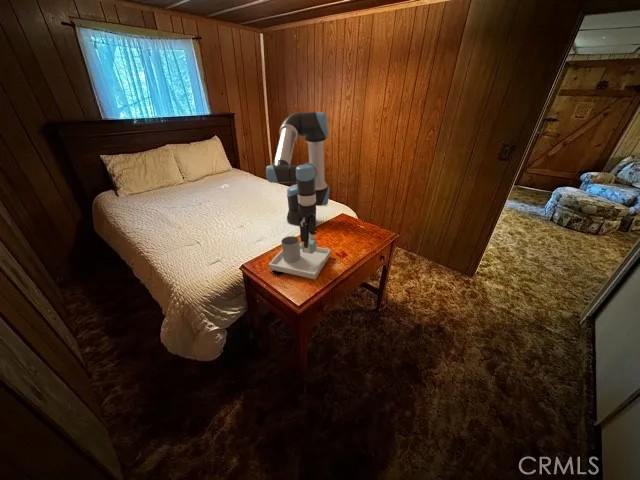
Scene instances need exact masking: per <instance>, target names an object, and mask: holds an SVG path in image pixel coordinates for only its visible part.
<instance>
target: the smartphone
mask: <svg viewBox="0 0 640 480" xmlns="http://www.w3.org/2000/svg"><path fill="white" fill-rule="evenodd" d="M272 272H273V273H274V274H275V276H276V275H277V277H281V276H282V275H283V274H285V272H280V271H276V270H273V271H272ZM273 273H272V274H273ZM274 274H273V275H274Z"/></svg>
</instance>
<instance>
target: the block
mask: <svg viewBox="0 0 640 480" xmlns="http://www.w3.org/2000/svg"><path fill="white" fill-rule="evenodd" d="M309 241H310V254H313V253H314V251H315V250H316V249H317V247H318V246H317V239H316V238H315V239H311V238H309ZM301 244H302V249H303V252H304V242H301Z"/></svg>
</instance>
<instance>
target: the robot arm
mask: <svg viewBox="0 0 640 480" xmlns="http://www.w3.org/2000/svg"><path fill="white" fill-rule="evenodd" d="M328 122H329V121H328V117H327V114H326V113H325V112H323V111H306V112H305V111H304V112H301V111H299V112H294V113H292V114H290V115H289V116H288V117H286V118H285V119H284V120H283V121H282V123H281V125H280V127H279V131H278V134H279V139H278V143H277V148H276V151H275V152H276V153H275V156H274V161H273V164H271V165H269V164H268V165H267V166H266V169H265V177H266V180H267V182H268V183H272V184H274V183H275V184H282V183H283V184H291V183H292V185H291V186H289V187H288V188H287V189H286V197H287V204H288V212H287V216H286V221H287V224H290V225H296V226H299V232H300V233H299V235H300V242H301V243H302V242H304V253H309V254H310V241H309V238H311V239H316V237H315V235H317V232H316V231H317V207H322V206H323V207H324V206H328V204H329V196H330V190H331V189H330V187H329V186H328V184H327V183H326V181H325V150H324V149H325V147H324V145H325V144H324V143H325V141H326V140H327V137H328V136H329V135H330V134H329V133H330V132H329V130H330V129H329V123H328ZM298 137H301V138H303V137H304V141H305V142H306V143H307V145H308V147H307V148H308V162H306V163H304V164H291V163H292V159H293V153H294V147H295V142H296V140H297V139H298ZM293 183H294V184H293Z"/></svg>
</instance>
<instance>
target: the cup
mask: <svg viewBox="0 0 640 480" xmlns="http://www.w3.org/2000/svg"><path fill="white" fill-rule="evenodd" d="M299 244H300V239H299V237H297V236H294V235H289V236H286V237H283V238H282V240H281V248H282V249H281V250H283V258H284V261H286V262H289V263H294V262H297V261H298V260H300V246H299Z"/></svg>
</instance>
